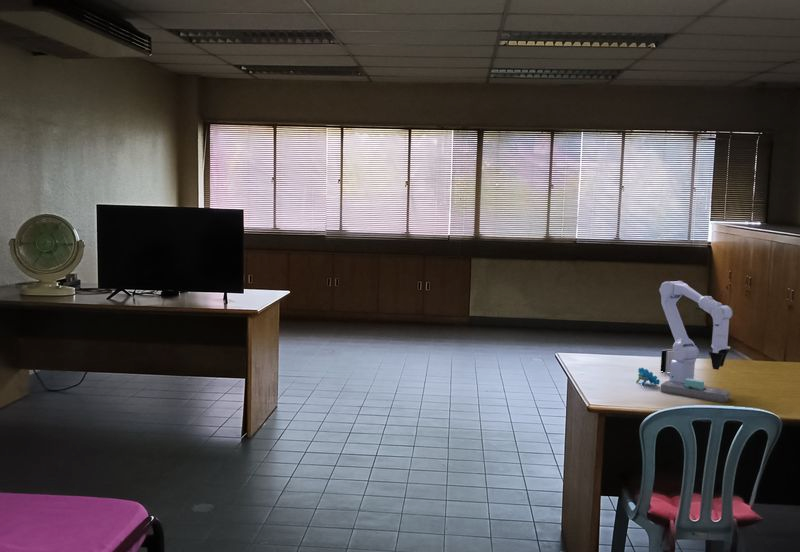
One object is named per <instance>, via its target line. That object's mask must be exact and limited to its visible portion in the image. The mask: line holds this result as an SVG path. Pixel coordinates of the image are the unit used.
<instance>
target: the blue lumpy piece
mask: <svg viewBox="0 0 800 552" xmlns="http://www.w3.org/2000/svg"><path fill="white" fill-rule="evenodd" d="M637 372H638V374H637V376H638V379H637V380H636V381H635V383H636V382H638V383H639V382H640V381H642V382H641V383H640V385H641V384H642V385H643V386H645V384H646V383H647V381H649V383H650V384H653V385H655V384H656V386H659V385H660V382H661V381H660V379H659V378H658V376H656V375H653V374H654V372H652V371H649V369H647V368H644V367H639V368H638V369H637ZM642 385H641V386H642Z"/></svg>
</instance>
